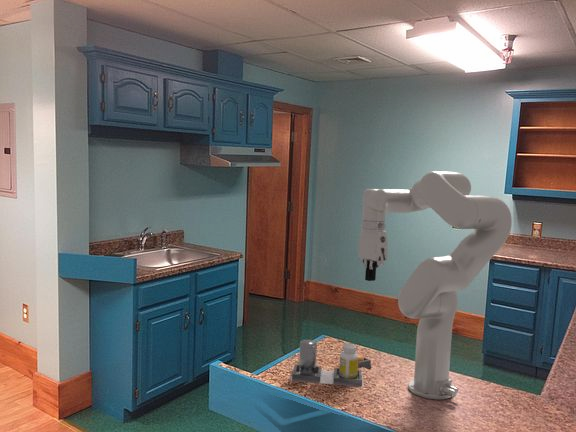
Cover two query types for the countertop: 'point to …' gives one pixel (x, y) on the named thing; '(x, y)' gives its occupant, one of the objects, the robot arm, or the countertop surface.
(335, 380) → the tray
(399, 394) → the countertop surface
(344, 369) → the supplement bottle
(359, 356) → the button
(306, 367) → the cylinder
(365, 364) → the button base
